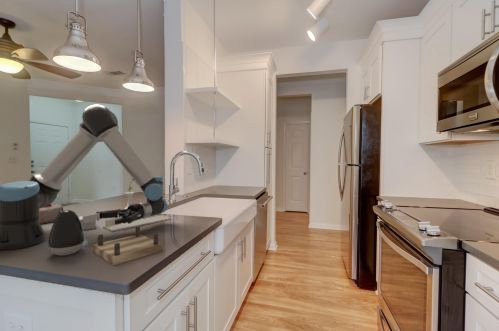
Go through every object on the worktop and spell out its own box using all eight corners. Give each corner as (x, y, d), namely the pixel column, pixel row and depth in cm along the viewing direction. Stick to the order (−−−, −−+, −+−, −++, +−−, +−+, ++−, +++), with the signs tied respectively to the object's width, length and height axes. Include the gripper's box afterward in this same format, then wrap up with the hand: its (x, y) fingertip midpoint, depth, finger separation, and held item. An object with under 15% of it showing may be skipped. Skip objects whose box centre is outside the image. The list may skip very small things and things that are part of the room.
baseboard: (101, 228, 119) (111, 233, 112) (101, 222, 119) (111, 227, 112) (159, 217, 143) (171, 220, 136) (159, 212, 143) (171, 215, 136)
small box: (96, 228, 117) (96, 218, 117) (75, 231, 112) (75, 220, 112) (94, 225, 123) (94, 214, 123) (75, 227, 118) (75, 216, 118)
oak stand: (93, 251, 89) (93, 235, 88) (139, 240, 102) (139, 225, 102) (113, 265, 78) (113, 246, 78) (162, 250, 91) (162, 234, 91)
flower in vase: (137, 219, 135) (138, 173, 134) (115, 219, 133) (115, 173, 132) (143, 213, 147) (143, 172, 147) (122, 214, 145) (123, 172, 145)
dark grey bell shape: (75, 245, 94) (75, 206, 94) (90, 251, 89) (90, 209, 88) (42, 254, 85) (42, 210, 85) (56, 261, 80) (56, 214, 80)
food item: (32, 226, 117) (32, 206, 117) (25, 224, 121) (25, 204, 121) (65, 220, 129) (65, 202, 129) (57, 218, 133) (57, 200, 133)
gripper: (159, 222, 110) (116, 235, 91) (120, 216, 120) (74, 227, 101) (159, 205, 110) (116, 215, 91) (120, 200, 120) (74, 208, 101)
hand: (94, 221), depth 96 cm, fingers open, 13 cm apart
